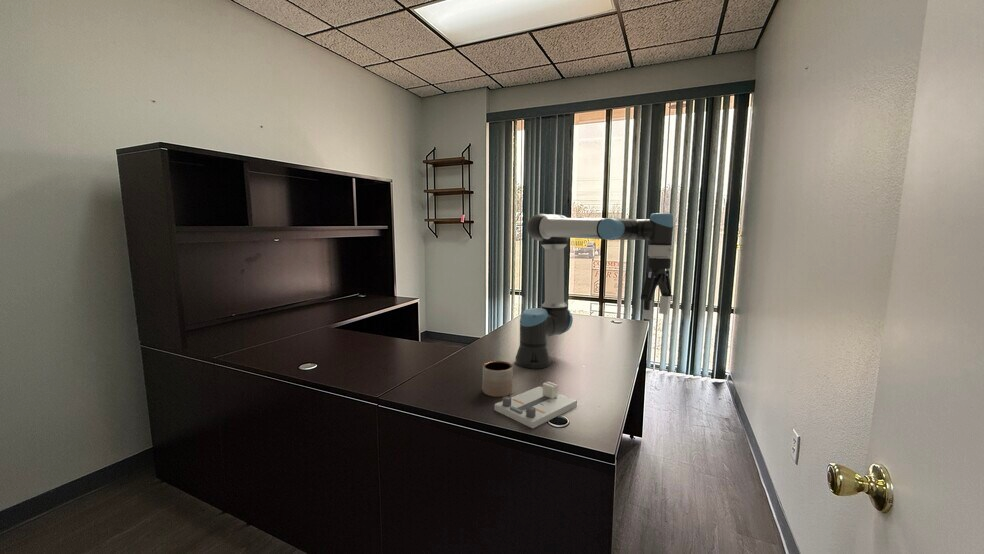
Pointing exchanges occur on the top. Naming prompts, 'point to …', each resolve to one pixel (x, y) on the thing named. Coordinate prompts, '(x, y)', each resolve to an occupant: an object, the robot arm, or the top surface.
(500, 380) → the planter
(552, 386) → the fader
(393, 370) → the top surface
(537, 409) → the console
